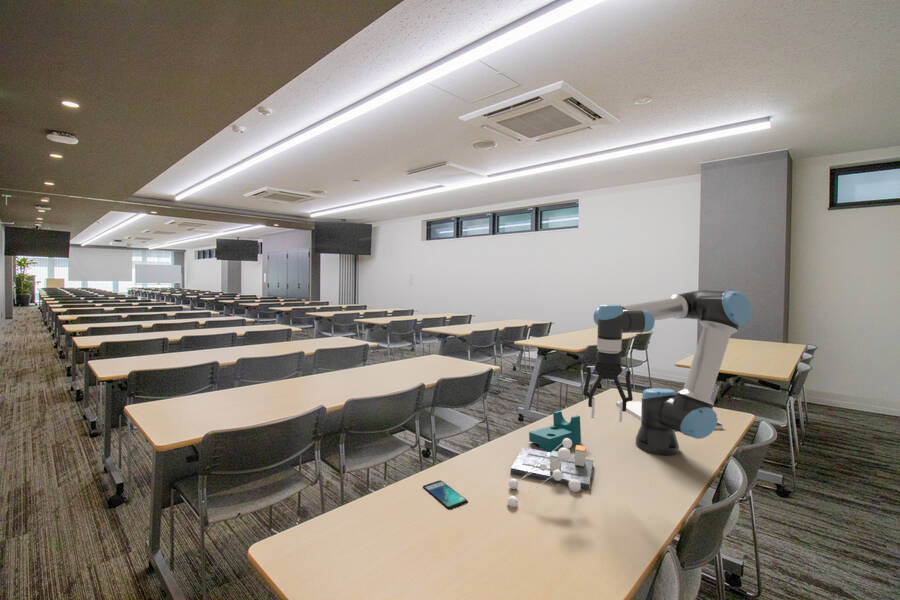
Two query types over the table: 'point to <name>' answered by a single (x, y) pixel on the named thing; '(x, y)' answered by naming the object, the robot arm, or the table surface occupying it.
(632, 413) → the flat white panel
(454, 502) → the smartphone
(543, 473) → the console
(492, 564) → the table surface
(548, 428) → the teal l-shaped bracket
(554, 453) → the block
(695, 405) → the robot arm
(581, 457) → the fader
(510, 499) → the molecule model
